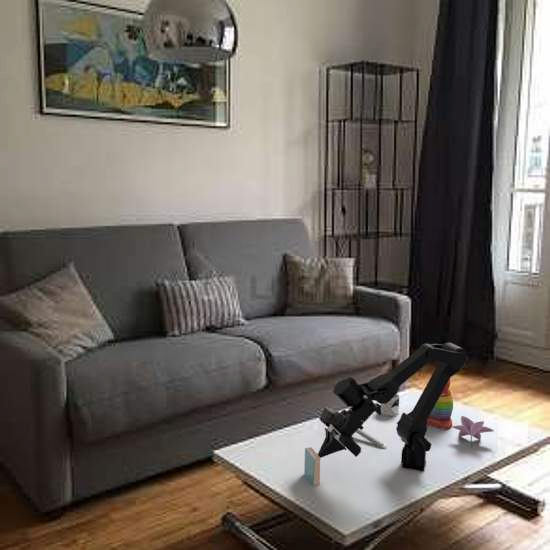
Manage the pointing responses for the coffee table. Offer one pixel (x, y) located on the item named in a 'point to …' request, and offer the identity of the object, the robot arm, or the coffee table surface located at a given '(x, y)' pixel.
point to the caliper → (370, 438)
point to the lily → (471, 428)
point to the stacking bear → (442, 410)
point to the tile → (312, 466)
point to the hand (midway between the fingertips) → (319, 456)
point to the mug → (391, 407)
